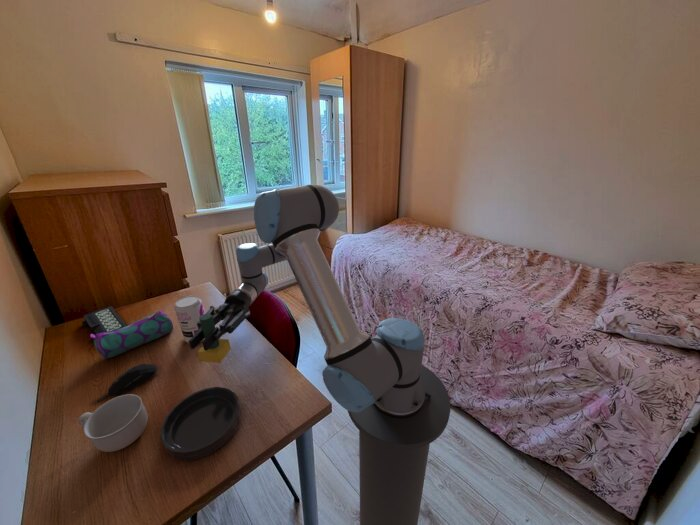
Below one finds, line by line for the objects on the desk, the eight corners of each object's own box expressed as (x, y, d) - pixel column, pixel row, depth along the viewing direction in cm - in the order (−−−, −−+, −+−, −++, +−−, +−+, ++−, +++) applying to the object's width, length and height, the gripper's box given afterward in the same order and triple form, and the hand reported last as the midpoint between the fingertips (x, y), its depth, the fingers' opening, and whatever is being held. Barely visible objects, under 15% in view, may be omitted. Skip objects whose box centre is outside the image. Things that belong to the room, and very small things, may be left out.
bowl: (253, 399, 77) (251, 390, 75) (217, 467, 61) (214, 457, 60) (195, 393, 79) (192, 384, 78) (147, 456, 64) (141, 446, 62)
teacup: (162, 420, 72) (152, 397, 69) (123, 464, 62) (110, 441, 59) (117, 410, 75) (105, 388, 71) (73, 452, 65) (57, 429, 62)
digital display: (78, 315, 109) (110, 305, 116) (81, 322, 110) (113, 311, 117) (91, 338, 97) (126, 324, 104) (95, 346, 98) (129, 332, 105)
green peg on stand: (230, 348, 86) (221, 311, 80) (219, 363, 81) (209, 324, 75) (212, 347, 87) (202, 309, 81) (200, 361, 81) (188, 322, 76)
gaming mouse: (93, 395, 79) (88, 385, 77) (152, 364, 90) (148, 354, 88) (100, 408, 75) (94, 397, 74) (161, 373, 86) (157, 363, 84)
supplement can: (211, 327, 106) (201, 292, 100) (209, 341, 99) (199, 304, 93) (186, 332, 104) (175, 297, 97) (183, 347, 97) (171, 310, 90)
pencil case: (167, 324, 108) (160, 303, 104) (176, 334, 103) (169, 312, 99) (99, 354, 94) (87, 330, 90) (105, 367, 89) (92, 343, 85)
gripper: (265, 310, 97) (229, 359, 76) (221, 307, 99) (174, 354, 78) (261, 290, 94) (223, 336, 73) (216, 288, 96) (166, 332, 75)
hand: (197, 345), depth 75 cm, fingers closed on green peg on stand, 3 cm apart
